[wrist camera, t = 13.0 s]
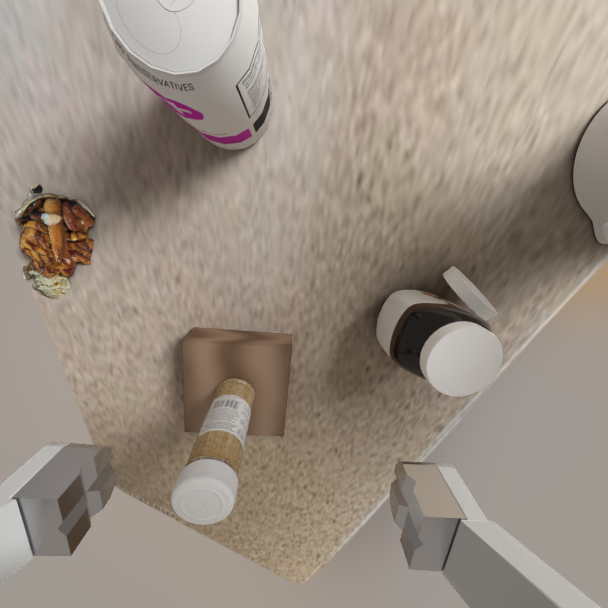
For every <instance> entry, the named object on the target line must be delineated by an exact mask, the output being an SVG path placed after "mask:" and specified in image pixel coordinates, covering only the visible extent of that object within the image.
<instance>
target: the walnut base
mask: <svg viewBox="0 0 608 608" xmlns="http://www.w3.org/2000/svg"><path fill="white" fill-rule="evenodd" d="M291 352H292V334H279V333H265V332H251V331H237V330H223V329H209V328H193V329H192V330H191V332H190V333H189V334H188V335H187V336H186V337H185V338H184V339H183V341H182V354H183V387H184V419H185V432H200V429H201V426H202V424H203V421H204V419H205V417H206V414H207V412H208V410H209V408H210V406H211V404H212V402H213V399H214V397H215V393H216V389H217V387H218V386H219V385H220V384H221V383H222V382H223V381H225V380H227V379H231V378H238V379H242V380H245V381H246V382H248V383H249V384H250V385H251V386H252V388H253V389H254V393H255V398H254V401H253V404H252V408H251V416H250V421H249V425H248V430H247V434H248V435H270V436H284V428H285V417H286V406H287V395H288V384H289V374H290V363H291Z"/></svg>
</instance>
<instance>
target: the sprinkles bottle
mask: <svg viewBox="0 0 608 608" xmlns="http://www.w3.org/2000/svg"><path fill="white" fill-rule="evenodd" d="M254 398H255V393H254V389H253V388H252V386H251V385H250V384H249V383H248V382H246V381H245V380H242V379H238V378H231V379H227V380H225V381H223V382H222V383H221V384H220V385H219V386H218V387H217V389H216V393H215V397H214V399H213V402H212V404H211V406H210V408H209V410H208V412H207V414H206V417H205V419H204V421H203V424H202V426H201V429H200V432H199V434H198V437H197V439H196V442H195V444H194V447H193V449H192V452H191V454H190V457H189V460H188V462H187V464H186V466H185V467H184V468H183V470H182V471H181V473H180V475H179V477H178V480H177V482H176V485H175V487H174V490H173V492H172V496H171V504H172V507H173V509H174V511H175V513H176V514H177V515H178V516H179V517H181V518H182V519H183V520H185V521H187V522H190V523H193V524H198V525H208V524H214V523H217V522H219V521H221V520H223V519H224V518H226V517H227V516H228V515H229V514H230V513H231V511H232V509H233V507H234V504H235V499H236V495H237V490H238V473H239V467H240V462H241V458H242V455H243V451H244V445H245V440H246V435H247V430H248V425H249V421H250V416H251V408H252V404H253V401H254Z"/></svg>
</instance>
